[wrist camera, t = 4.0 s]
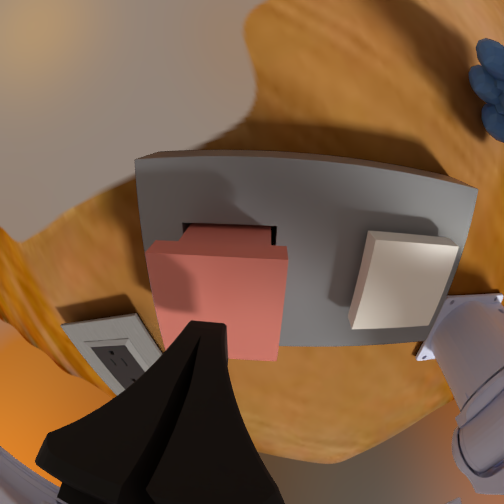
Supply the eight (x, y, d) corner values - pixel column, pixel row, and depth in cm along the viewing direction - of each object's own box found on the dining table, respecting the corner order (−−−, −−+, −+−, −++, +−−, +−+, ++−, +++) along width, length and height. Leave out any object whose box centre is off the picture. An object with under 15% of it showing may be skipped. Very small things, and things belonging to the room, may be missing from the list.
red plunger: (282, 214, 15) (288, 259, 10) (275, 299, 17) (276, 361, 13) (181, 211, 15) (145, 252, 10) (189, 293, 17) (165, 350, 13)
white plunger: (419, 215, 17) (459, 246, 12) (401, 282, 19) (428, 325, 14) (348, 207, 17) (375, 239, 12) (335, 281, 19) (351, 329, 15)
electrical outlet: (70, 313, 24) (59, 327, 22) (143, 300, 22) (133, 317, 20) (130, 391, 29) (124, 405, 27) (202, 391, 27) (198, 408, 25)
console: (449, 176, 15) (478, 189, 12) (410, 313, 20) (425, 340, 17) (158, 151, 16) (134, 159, 13) (174, 306, 21) (161, 335, 18)
